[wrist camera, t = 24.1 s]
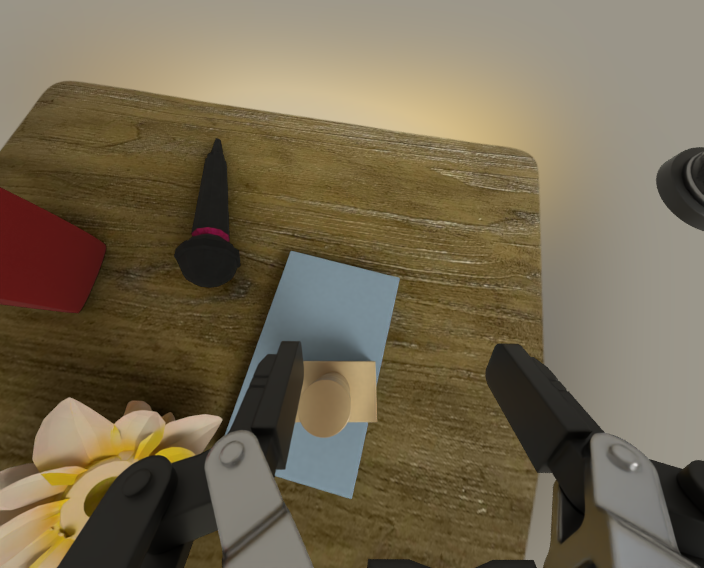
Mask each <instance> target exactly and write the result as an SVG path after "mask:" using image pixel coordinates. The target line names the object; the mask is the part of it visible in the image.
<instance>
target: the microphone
mask: <svg viewBox="0 0 704 568" xmlns="http://www.w3.org/2000/svg"><path fill="white" fill-rule="evenodd" d="M191 234H192V237H191V238H190V239H189V240H186V241H184V242H183V243H181V244H180V245H179V246H178V247H177V248H176V250H175V254H174V257H175V259H176V260H177V262H178V264H179V266H180V268H181V271H182V273H183V275H184V277H185V278H186V279H187V280H188V281H190V282H192V283H194V284H196V285H198V286H201V287H209V288H211V287H218V286H220V285H222V284H224V283H226V282H228V281H229V280H231V279H232V278H233V276H234V274H235V273H236V269H237V268H238V267H240V255H239V250H237V249H236V248H234V247H233V245H232V244H231V243H229V241H230V239H229V212H228V185H227V165H226V161H225V159H224V155H223V151H222V145H221V140H220V139H218V138H216V139H215V142H214V145H213V148H212V152H211V153H209V154H208V155H207V158H206V159H205V164H204V170H203V175H202V180H201V185H200V191H199V196H198V201H197V206H196V212H195V217H194V222H193V227H192V233H191Z"/></svg>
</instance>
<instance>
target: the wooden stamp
mask: <svg viewBox="0 0 704 568" xmlns="http://www.w3.org/2000/svg"><path fill="white" fill-rule="evenodd" d="M303 363H304V380H303V386H302V390H301V395H300V400H299V405H298V410H297V415H296V420H295V422H301V424H302V426H303V427H304V429H305V430H306V431H307V432H308V433H310V434H311V435H313V436H316V437H320V438H328V437H332V436H334V435H336V434H338V433H339V432H340V431H341V430H342V429H343V428H344V427H345V426H346V424H347V423H348V422H377V399H376V362H375V361H303Z"/></svg>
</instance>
